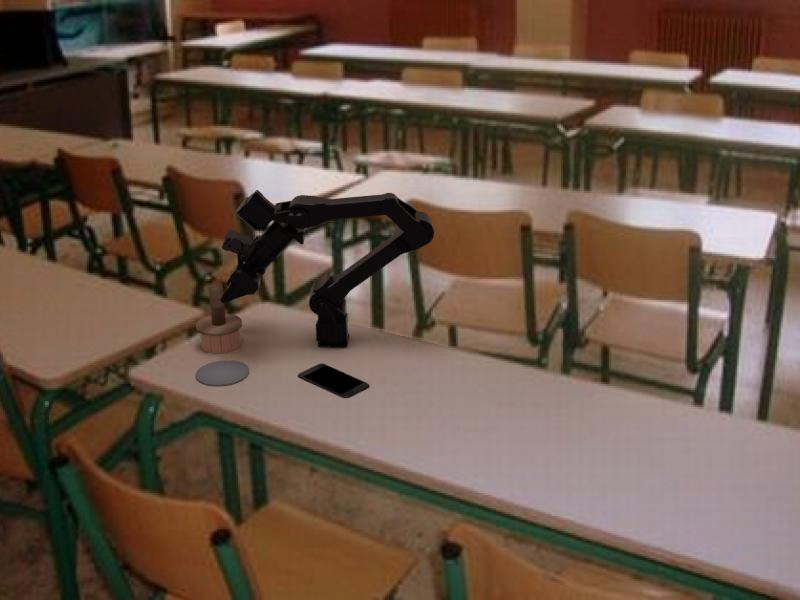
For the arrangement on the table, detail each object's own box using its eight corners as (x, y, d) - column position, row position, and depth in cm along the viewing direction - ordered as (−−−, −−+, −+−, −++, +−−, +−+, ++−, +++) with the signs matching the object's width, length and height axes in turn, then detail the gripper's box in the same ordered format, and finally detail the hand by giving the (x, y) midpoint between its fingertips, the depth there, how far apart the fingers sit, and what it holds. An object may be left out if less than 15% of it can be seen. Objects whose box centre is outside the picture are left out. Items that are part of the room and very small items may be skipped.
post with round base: (251, 323, 212) (248, 283, 209) (219, 339, 205) (215, 298, 201) (219, 313, 218) (215, 274, 214) (186, 329, 210) (182, 288, 206)
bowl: (243, 336, 217) (241, 318, 215) (235, 353, 209) (234, 334, 207) (206, 336, 217) (204, 318, 215) (197, 352, 209) (195, 334, 207)
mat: (253, 362, 205) (253, 360, 204) (243, 386, 194) (243, 384, 194) (202, 361, 205) (202, 360, 205) (190, 385, 195) (189, 384, 195)
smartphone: (345, 401, 189) (345, 397, 189) (295, 377, 199) (295, 373, 198) (372, 388, 194) (372, 384, 194) (321, 365, 204) (321, 362, 203)
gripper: (247, 205, 210) (202, 254, 214) (236, 233, 193) (188, 286, 197) (286, 238, 214) (240, 286, 218) (278, 268, 196) (229, 319, 200)
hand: (224, 293), depth 208 cm, fingers open, 9 cm apart
